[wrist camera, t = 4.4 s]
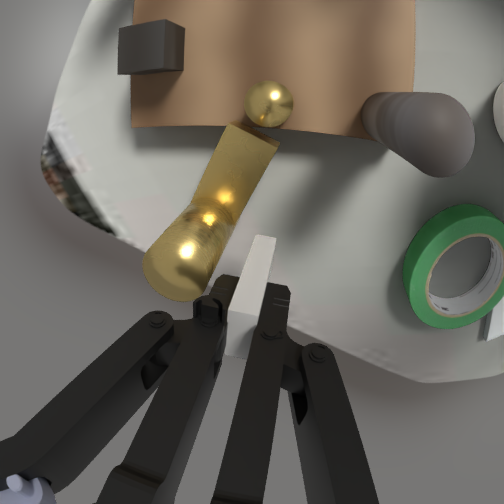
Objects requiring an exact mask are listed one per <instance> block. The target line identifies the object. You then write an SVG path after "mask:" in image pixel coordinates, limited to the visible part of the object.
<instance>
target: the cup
mask: <svg viewBox="0 0 504 504" xmlns="http://www.w3.org/2000/svg"><path fill="white" fill-rule="evenodd" d="M493 115H494V121H495V125H496V128H497V132H498V134H499V136H500V138H501V139H502V141H503V142H504V82H503V83H501V84H500V86H499V87H498V89H497V91H496V94H495V97H494V102H493Z"/></svg>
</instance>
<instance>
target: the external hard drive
mask: <svg viewBox="0 0 504 504" xmlns="http://www.w3.org/2000/svg"><path fill="white" fill-rule="evenodd" d="M501 335H504V296H503V297H502V299H501V300H500V301H499V302H498V304H497V305H496V306H495V307H494V308H493V309H492V310H491V311H490V312H488V313H487V318H486V324H485V329H484V334H483V338H484V339H485V341H486V342H487V341H489V340H492V339H494V338H497V337H499V336H501Z"/></svg>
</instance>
